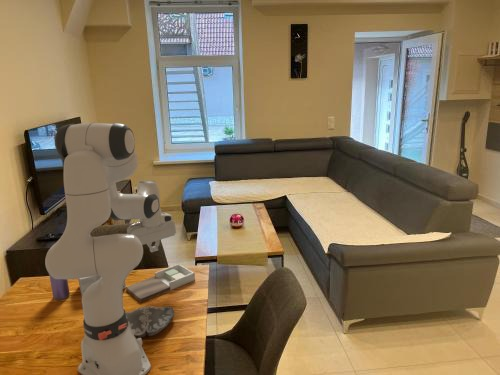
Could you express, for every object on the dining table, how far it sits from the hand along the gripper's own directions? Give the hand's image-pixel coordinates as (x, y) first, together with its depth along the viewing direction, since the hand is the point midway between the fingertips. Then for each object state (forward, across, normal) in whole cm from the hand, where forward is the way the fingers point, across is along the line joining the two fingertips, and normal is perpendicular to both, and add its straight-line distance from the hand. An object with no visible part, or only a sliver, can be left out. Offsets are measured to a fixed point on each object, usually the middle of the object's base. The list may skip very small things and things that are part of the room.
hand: (154, 251), depth 155 cm
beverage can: (+15, -33, +18) cm, 41 cm away
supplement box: (+15, -18, +14) cm, 28 cm away
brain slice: (+16, -17, -24) cm, 34 cm away
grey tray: (+15, +7, -2) cm, 17 cm away
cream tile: (+15, +7, -5) cm, 17 cm away
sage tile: (+15, +7, 0) cm, 16 cm away
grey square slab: (+15, -5, -2) cm, 16 cm away
